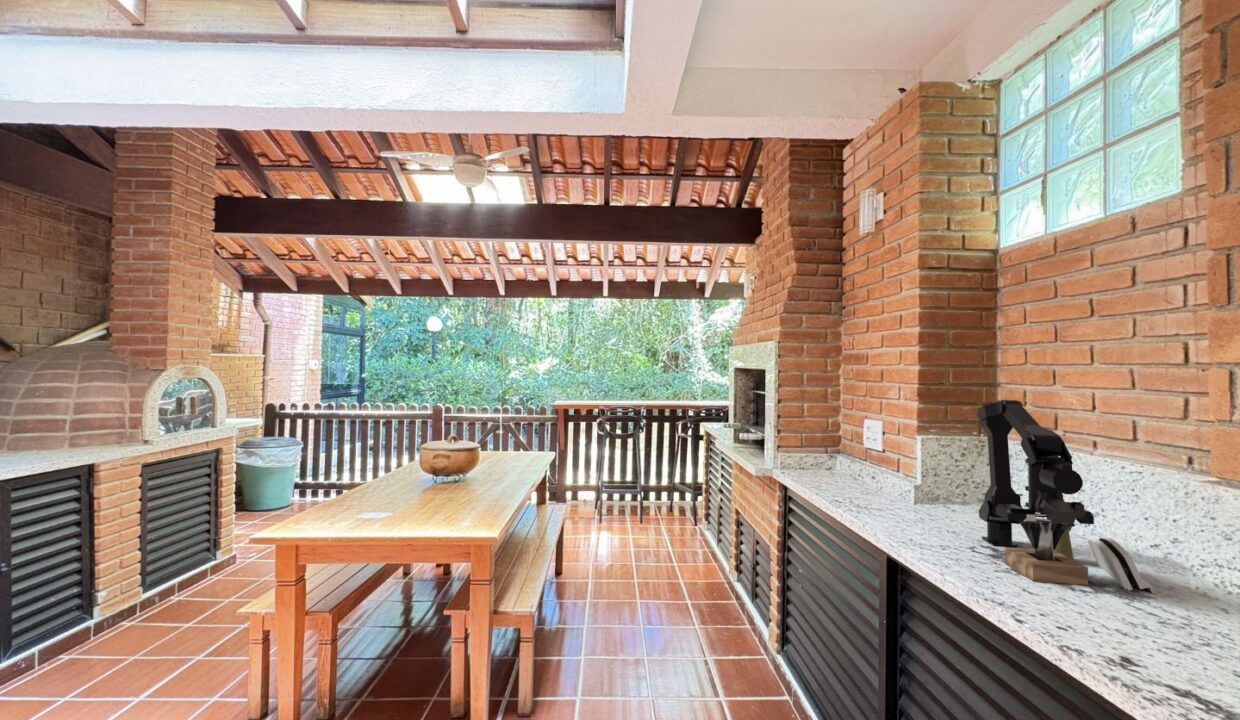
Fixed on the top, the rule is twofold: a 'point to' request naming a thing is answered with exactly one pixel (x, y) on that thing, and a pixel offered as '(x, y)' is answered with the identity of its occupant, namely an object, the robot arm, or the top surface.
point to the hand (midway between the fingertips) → (1043, 548)
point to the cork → (1065, 544)
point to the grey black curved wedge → (1117, 563)
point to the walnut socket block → (1046, 567)
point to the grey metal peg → (1044, 540)
